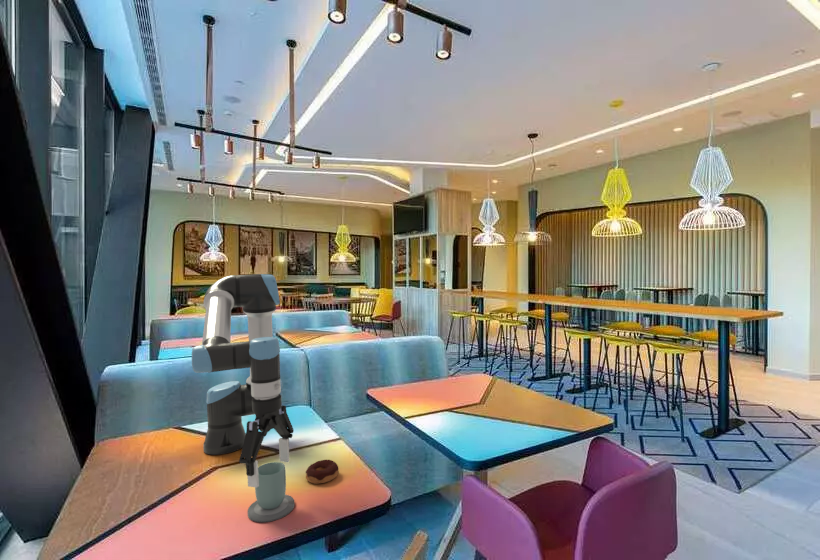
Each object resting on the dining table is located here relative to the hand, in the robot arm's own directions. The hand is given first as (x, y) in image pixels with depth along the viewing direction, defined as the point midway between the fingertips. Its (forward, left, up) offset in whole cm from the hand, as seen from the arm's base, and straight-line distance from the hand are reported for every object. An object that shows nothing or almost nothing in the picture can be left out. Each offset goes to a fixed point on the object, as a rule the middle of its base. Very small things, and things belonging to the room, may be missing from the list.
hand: (269, 473), depth 110 cm
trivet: (0, 0, -10) cm, 10 cm away
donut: (+5, +18, -10) cm, 22 cm away
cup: (0, 0, -9) cm, 9 cm away
